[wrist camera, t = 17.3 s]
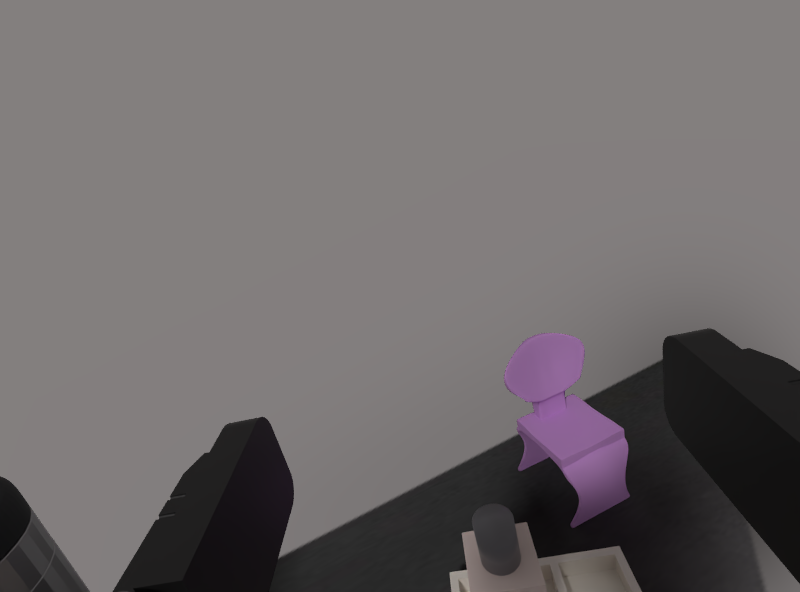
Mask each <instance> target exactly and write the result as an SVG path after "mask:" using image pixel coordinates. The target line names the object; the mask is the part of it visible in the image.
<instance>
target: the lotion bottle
mask: <svg viewBox="0 0 800 592" xmlns="http://www.w3.org/2000/svg"><path fill="white" fill-rule="evenodd" d="M472 525H473V529H474V531H470V532H464V533H462V538H463V545H464V552H465V559H466V566H467V573H468V580H469V587H470V592H547V589H546V584H545V581H544V577H543V574H542V571H541V567H540V564H539V561H538V558H537V554H536V551H535V548H534V544H533V541H532V538H531V534H530V531H529V528H528V524H527V522H524V523H518V524H515V522H514V517H513V514H512V513H511V511H510V510H509V509H508V508H507V507H505V506H503V505H500V504H487V505H484V506H482V507H480V508H479V509H478V510H477V511H476V512H475V513H474V515H473V518H472Z"/></svg>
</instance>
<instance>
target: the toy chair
mask: <svg viewBox="0 0 800 592" xmlns="http://www.w3.org/2000/svg"><path fill="white" fill-rule="evenodd" d="M584 352H585V350H584V345H583V343H582V342H581V341H580V340H579V339H578V338H575V337H573V336H570V335H566V334H558V333H543V334H538V335H534V336H532V337H530V338H528V339H526V340H525V341H524V342H523V343H522V344H521V345H520V346H519V347H518V349H517V350H516V351H515V353H514V354H513V356H512V357H511V359H510V361H509V363H508V365H507V368H506V370H505V375H504V381H505V385H506V387H507V389H508V390H509V391H510V392H512V393H513V394H515V395H517V396H519V397H521V398H522V399H524V400H525V401H526V402H532V403H533V408H534V412H533V413H531V414H528V415H526V416H524V417H521V418H519V419H517V424H518V427H517V431H518V433H519V434H520V436H521V437H522V439H523V441H524V445H525V449H524V454H523V457H522V460H521V462H520V465H519V467H518V470H519V471H522V470H524V469H526V468H528V467H530V466H532V465H534V464H536V463H538V462H540V461H542V460H544V459H546V458H548V457H550V458H551V459H552V460H553V461H554V462H555V463H556V464H557V465H558V466H559V467H560V469H561V470H562V472H563V474H564V475H565V477H566V479H567V480H568V481H569V482H570V483H571V485H572V486H573V487H574V488H575V490H576V492H577V494H578V497H579V506H578V509H577V512H576V514H575V516H574V518H573V520H572V522H571V524H570V526H571V527H572V528H574V527H576V526H578V525H580V524H582V523H583V522H585V521H587V520H589V519H591V518H592V517H594V516H596V515H598V514H600V513H602V512H603V511H605V510H607V509H609V508H611V507H613V506H614V505H616V504H618V503H620V502H622V501H623V500H625V499H627V498H629V497H630V495H629V492H628V490H627V487H626V482H625V471H626V464H627V457H628V443H627V441H626V439H625V438H624V429H623V428H622V427H620V426H619V425H617V424H616V423H615V422H613V421H612V420H610V419H608V418H607V417H605V416H603V415H602V414H600V413H599V412H597V411H596V410H595V409H593V408H592V407H590V406H589V405H588V404H586V403H585V402H584V401H583V400H581V399H580V398H578V397H577V396H575V395H574V394H571V395H569V396H567V397H565V390H566V389H568V388H569V387H570V386H571V385H572V384H574V383H575V382H576V381H577V380H578V379H579V378H580V377H581V371H582V367H583V362H584Z"/></svg>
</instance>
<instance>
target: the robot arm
mask: <svg viewBox="0 0 800 592" xmlns="http://www.w3.org/2000/svg"><path fill="white" fill-rule="evenodd" d="M663 380H664V406H665V412H666V415H667V418H668V421H669V423H670V426H671V428H672V430H673V431H674V433H675V435H676V436H677V437H678V438H679V440H680V441H681V442H682V443H683V444H684V446H685V447H686V448H687V449H688V450H689V452H690V453H691V454H692V455H693V456H694V458H695V459H696V460H697V461H698V462H699V464H700V465H701V466H702V467H703V468H704V470H705V471H706V472H707V473H708V474H709V476H710V477H711V478H712V479H713V480H714V482H715V483H716V484H717V485H718V486H719V488H720V489H721V490H722V491H723V492H724V494H725V495H726V496H727V497H728V498H729V500H730V501H731V502H732V503H733V504H734V506H735V507H736V508H737V509H738V510H739V512H740V513H741V514H742V515H743V516H744V517H745V519H746V520H747V521H748V522H749V523H750V525H751V526H752V527H753V528H754V529H755V531H756V532H757V533H758V534H759V535H760V537H761V538H762V539H763V540H764V541H765V543H766V544H767V545H768V546H769V547H770V549H771V550H772V551H773V552H774V553H775V555H776V556H777V557H778V558H779V559H780V561H781V562H782V563H783V564H784V565H785V567H787V569H788V570H789V571H790V572H791V574H792V575H793V576H794V577H795V579H796V580H797V581H798V582H799V583H800V371H798V370H797V369H795V368H794V367H792V366H791V365H789V364H788V363H786V362H785V361H783V360H780V359H778V358H775V357H772V356H770V355H767V354H764V353H761V352H758V351H756V350H753V349H750V348H748V349H743V350H742V349H740V348H739V347H738V346H736V345H735V344H734V343H732V342H731V341H729V340H728V339H727V338H725V337H724V336H722V335H721V334H720V333H718V332H717V331H715V330H713V329H703V330H698V331H693V332H688V333H683V334H678V335H673V336H668V337H666V338H665V340H664V343H663ZM170 497H171V499H170V500H168V501H167V503H166V504H165V506H164V507H163V509H162V511H161V512H160V514H159V520H156V521H155V522H154V524H153V526H152V527H151V529H150V531H149V533H148V534H147V536H146V537H145V539H144V540H143V542H142V544H141V546H140V547H139V549H138V551H137V552H136V554H135V555H134V557H133V559H132V560H131V562H130V564H129V566H128V567H127V569H126V570H125V572H124V574H123V575H122V577H121V579H120V580H119V582H118V584H117V586H116V587H115V589H114V590H113V592H269V588H270V585H271V581H272V578H273V574H274V570H275V567H276V563H277V560H278V556H279V552H280V548H281V545H282V542H283V538H284V534H285V531H286V527H287V523H288V520H289V516H290V513H291V509H292V505H293V499H294V488H293V480H292V476H291V473H290V470H289V468H288V466H287V463H286V461H285V458H284V456H283V453H282V451H281V448H280V446H279V443H278V441H277V439H276V437H275V434H274V432H273V429H272V427H271V424H270V423H269V421H268V420H267V419H266V418H264V417H260V418H255V419H249V420H245V421H239V422H234V423H229V424H227V425H226V426H225V427H224V428H223V429H222V431H221V433H220V435H219V437H218V438H217V440H216V442H215V444H214V446H213V447H212V449H211V451H210V452H209V453H204V454H203V455H202V456H201V457H200V458H199V459H198V460H197V461H196V462H195V463H194V464H193V465H192V466H191V467H190V468H189V469H188V470H187V471H186V472H185V473H184V474H183V476H182V477H181V479H180V481H179V483H178V484H177V486H176V487H175V489H174V491H173V492H172V494H171V496H170ZM0 592H90V591H89V590H88V588H87V587H86V585H85V584H84V582H83V581H82V580H81V578H80V577H79V575H78V574H77V572H76V571H75V570H74V568H73V567H72V565H71V564H70V562H69V561H68V560H67V558H66V557H65V555H64V554H63V553H62V551H61V550H60V548H59V547H58V545H57V544H56V543H55V541H54V540H53V538H52V537H51V536H50V534H49V533H48V532H47V530H46V529H45V527H44V526H43V524H42V523H41V522H40V520H39V519H38V517H37V516H36V514H35V513H34V512H33V510H32V509H31V507H30V506H29V505H28V503H27V502H26V500H25V499H24V498H23V496H22V495H21V493H20V492H19V491H18V489H17V488H16V487H15V486H14V485H13V484H12V483H11V482H10V481H8V480H7V479H5V478H3V477H0Z"/></svg>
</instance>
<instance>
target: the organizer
mask: <svg viewBox="0 0 800 592" xmlns="http://www.w3.org/2000/svg"><path fill="white" fill-rule="evenodd" d="M538 561H539V564H540V567H541V571H542V574H543V577H544V581H545V584H546V589H547V592H642V591H641V589H640V587H639V585H638V583H637V581H636V579H635V577H634V575H633V573H632V571H631V569H630V567H629V565H628V563H627V561H626V559H625V557H624V555H623V553H622V551H621V548H620V546H615V547H609V548H602V549H596V550H590V551H583V552H577V553H571V554H564V555H558V556H552V557H545V558H539V559H538ZM450 581H451V591H452V592H470V587H469V580H468V573H467V570H463V571H456V572H450Z"/></svg>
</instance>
